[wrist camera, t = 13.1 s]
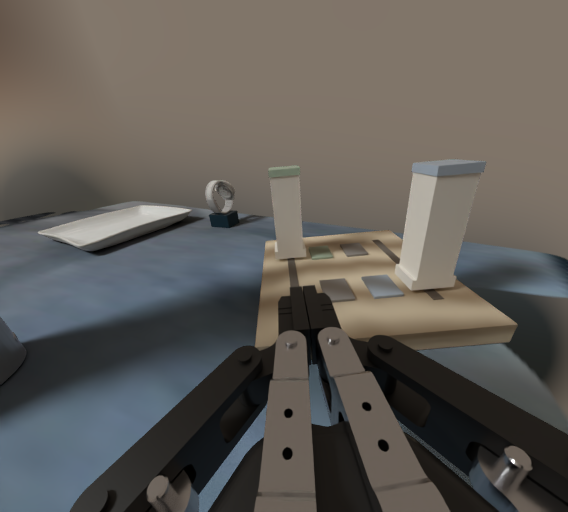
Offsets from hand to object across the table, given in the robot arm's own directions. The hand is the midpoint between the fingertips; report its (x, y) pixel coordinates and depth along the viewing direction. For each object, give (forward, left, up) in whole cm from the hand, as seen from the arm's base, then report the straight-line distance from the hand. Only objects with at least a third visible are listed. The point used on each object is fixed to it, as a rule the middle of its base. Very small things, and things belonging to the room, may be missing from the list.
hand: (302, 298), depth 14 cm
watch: (+38, +30, -9) cm, 50 cm away
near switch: (+14, -10, -6) cm, 18 cm away
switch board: (+16, -1, -9) cm, 19 cm away
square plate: (+31, +58, -9) cm, 67 cm away
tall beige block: (+19, +7, -6) cm, 21 cm away
